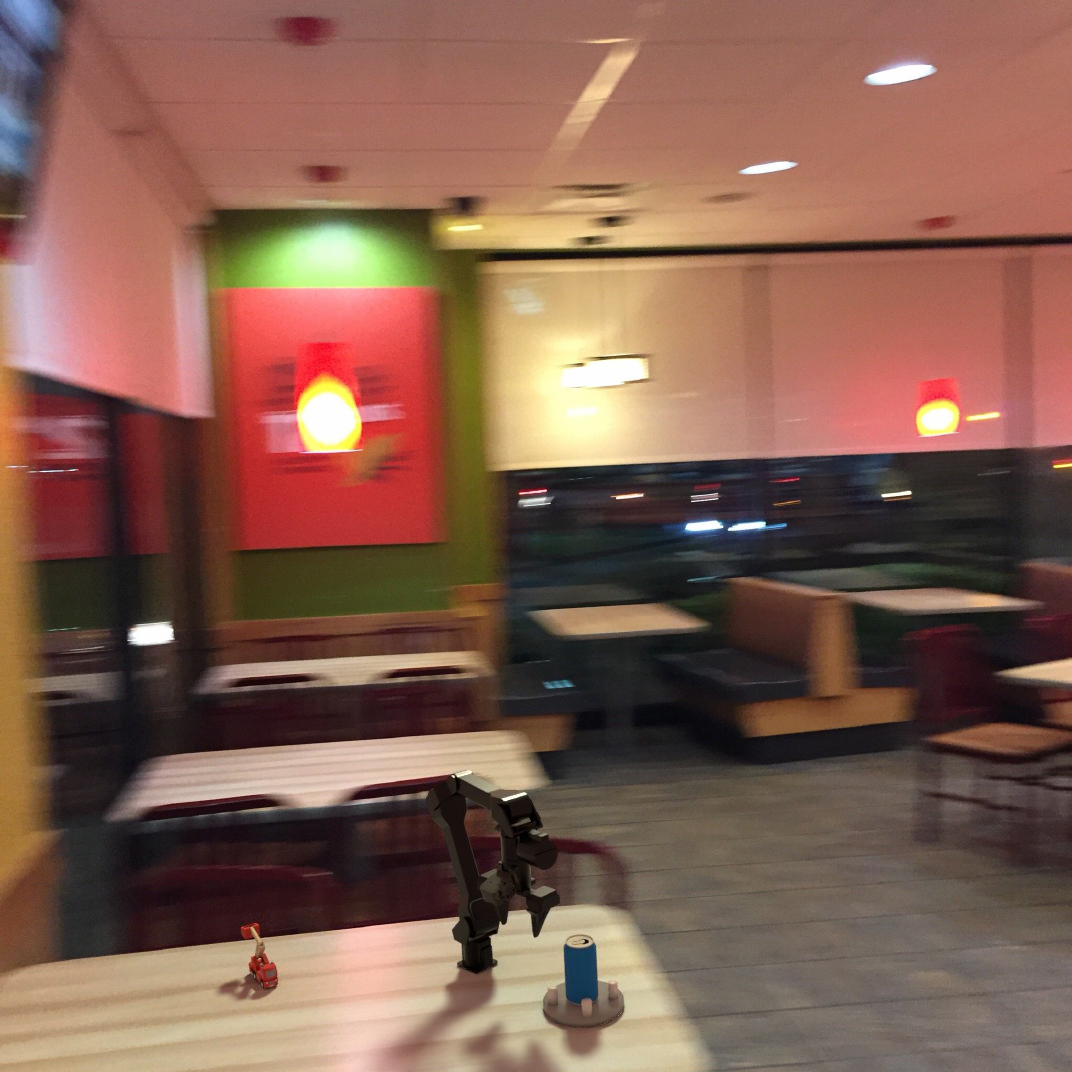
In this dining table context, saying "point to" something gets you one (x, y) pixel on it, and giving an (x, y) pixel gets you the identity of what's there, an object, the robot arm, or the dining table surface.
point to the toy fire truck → (261, 967)
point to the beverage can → (580, 968)
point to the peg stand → (584, 1006)
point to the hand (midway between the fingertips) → (519, 930)
